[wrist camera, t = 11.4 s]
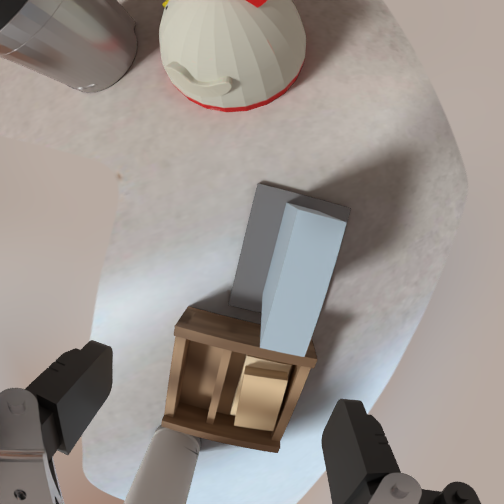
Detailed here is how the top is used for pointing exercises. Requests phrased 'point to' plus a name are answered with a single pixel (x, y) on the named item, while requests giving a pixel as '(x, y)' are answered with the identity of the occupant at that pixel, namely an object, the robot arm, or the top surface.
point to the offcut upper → (260, 398)
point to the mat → (269, 241)
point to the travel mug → (165, 469)
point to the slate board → (298, 278)
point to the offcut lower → (257, 363)
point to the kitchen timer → (232, 50)
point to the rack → (224, 379)
